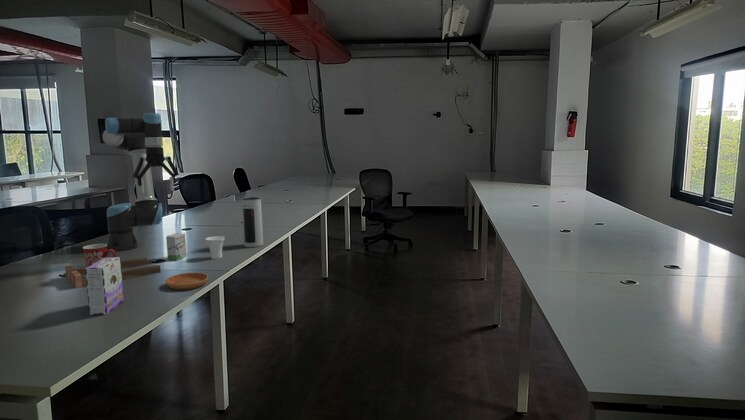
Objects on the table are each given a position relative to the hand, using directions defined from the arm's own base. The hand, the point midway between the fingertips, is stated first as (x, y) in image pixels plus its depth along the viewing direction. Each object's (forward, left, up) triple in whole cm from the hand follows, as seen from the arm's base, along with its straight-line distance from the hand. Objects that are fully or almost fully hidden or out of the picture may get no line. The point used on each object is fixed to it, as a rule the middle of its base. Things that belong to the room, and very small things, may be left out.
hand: (157, 191), depth 227 cm
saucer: (+50, -7, -33) cm, 60 cm away
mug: (+14, -30, -33) cm, 47 cm away
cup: (+16, +20, -33) cm, 42 cm away
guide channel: (+14, -24, -33) cm, 43 cm away
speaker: (+5, +46, -33) cm, 57 cm away
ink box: (+5, +5, -33) cm, 34 cm away
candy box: (+56, -38, -33) cm, 75 cm away
